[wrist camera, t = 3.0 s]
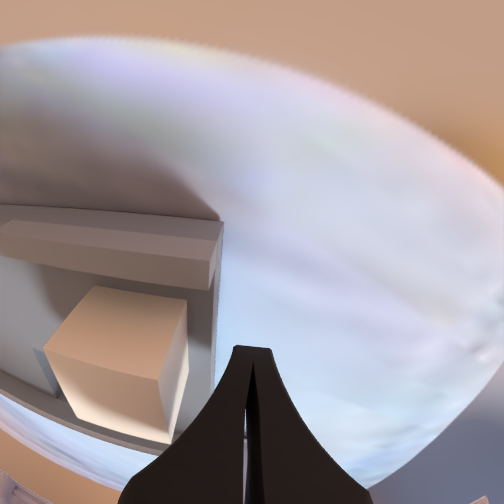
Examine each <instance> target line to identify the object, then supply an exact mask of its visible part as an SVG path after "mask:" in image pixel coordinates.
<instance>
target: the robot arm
mask: <svg viewBox="0 0 504 504" xmlns="http://www.w3.org/2000/svg"><path fill="white" fill-rule="evenodd" d="M245 409H246V431H247V439H244V426H245ZM0 504H54V503H52V502H50V501H48V500H46V499H44V498H43V497H41V496H39V495H37V494H36V493H34V492H32V491H30V490H29V489H27V488H26V487H24V486H22V485H21V484H19V483H18V482H16V480H15V479H13V478H12V477H11V476H10V475H8V474H7V473H5V472H4V471H3V470H1V469H0ZM118 504H373V502H372V499H371V496H370V494H369V491H367V490H366V489H365V488H364V487H362V486H361V485H360V484H359V483H357V482H356V481H355V480H354V479H353V478H352V477H351V476H349V475H348V474H347V473H346V472H345V471H344V470H343V469H342V468H341V467H340V466H339V465H338V464H337V463H336V462H335V461H334V460H333V458H332V457H331V456H330V455H329V454H328V453H327V452H326V451H325V449H324V448H323V447H322V446H321V445H320V444H319V442H318V441H317V440H316V438H315V437H314V436H313V434H312V433H311V431H310V430H309V429H308V427H307V426H306V424H305V423H304V421H303V420H302V418H301V416H300V415H299V413H298V411H297V409H296V408H295V406H294V404H293V402H292V400H291V398H290V396H289V394H288V392H287V390H286V388H285V386H284V384H283V382H282V379H281V377H280V374H279V372H278V369H277V367H276V364H275V361H274V357H273V354H272V350H271V349H270V348H261V347H251V346H242V345H236V346H234V347H233V352H232V355H231V358H230V361H229V363H228V365H227V368H226V370H225V372H224V374H223V376H222V378H221V380H220V381H219V383H218V385H217V387H216V389H215V390H214V392H213V393H212V395H211V397H210V398H209V400H208V401H207V403H206V404H205V406H204V407H203V409H202V410H201V411H200V413H199V414H198V415H197V417H196V418H195V419H194V420H193V422H192V423H191V424H190V425H189V426H188V427H187V429H186V430H185V431H184V432H183V433H182V434H181V435H180V436H179V437H178V439H177V440H176V441H175V442H174V443H173V444H172V445H170V446H169V447H168V448H167V449H166V450H165V451H164V452H163V453H162V454H161V455H160V456H159V457H157V458H156V459H155V460H154V461H153V462H151V463H150V464H149V465H148V466H146V467H145V468H144V469H142V470H141V471H140V472H138V473H137V474H136V475H134V476H133V477H132V478H131V479H130V480H129V482H128V483H127V485H126V486H125V488H124V490H123V491H122V493H121V495H120V498H119V500H118ZM470 504H489V502H488V499H487V496H483V497H481V498H480V499H478V500H476V501H474V502H472V503H470Z"/></svg>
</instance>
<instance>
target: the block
mask: <svg viewBox="0 0 504 504" xmlns="http://www.w3.org/2000/svg"><path fill="white" fill-rule="evenodd" d="M43 350H44V352H45V354H46V357H47V359H48V361H49V364H50V366H51V368H52V370H53V372H54V374H55V376H56V379H57V381H58V383H59V385H60V387H61V389H62V391H63V393H64V394H65V396H66V398H67V400H68V402H69V404H70V406H71V407H72V409H73V411H74V413H75V414H76V416H77V418H79V419H82V420H85V421H87V422H90V423H93V424H96V425H99V426H102V427H105V428H108V429H111V430H115V431H118V432H122V433H125V434H129V435H132V436H136V437H140V438H144V439H148V440H152V441H157V442H161V443H166V444H171V442H172V437H173V433H174V429H175V425H176V421H177V417H178V412H179V408H180V404H181V400H182V396H183V392H184V388H185V385H186V381H187V377H188V373H189V363H188V334H187V300H182V299H175V298H168V297H162V296H155V295H149V294H143V293H137V292H131V291H125V290H119V289H113V288H108V287H102V286H97V285H94V286H93V287H92V288H91V289H90V291H89V292H88V293H87V294H86V295H85V296H84V297H83V299H82V300H81V301H80V302H79V303H78V305H77V306H76V307H75V308H74V309H73V310H72V312H71V313H70V314H69V315H68V317H67V318H66V319H65V320H64V321H63V323H62V324H61V325H60V326H59V328H58V329H57V330H56V331H55V333H54V334H53V335H52V337H51V338H50V339H49V340H48V342H47V343H46V344H45V346H44V347H43Z"/></svg>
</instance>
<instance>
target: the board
mask: <svg viewBox="0 0 504 504" xmlns="http://www.w3.org/2000/svg"><path fill="white" fill-rule="evenodd" d="M223 230H224V222H221V221H211V220H202V219H192V218H182V217H171V216H161V215H150V214H138V213H127V212H114V211H102V210H88V209H74V208H59V207H43V206H25V205H5V204H0V394H2V395H4V396H5V397H7V398H9V399H11V400H12V401H14V402H16V403H18V404H20V405H22V406H23V407H25V408H27V409H29V410H31V411H33V412H35V413H37V414H39V415H41V416H43V417H45V418H48V419H50V420H52V421H54V422H56V423H59V424H61V425H63V426H66V427H68V428H71V429H73V430H76V431H78V432H81V433H83V434H86V435H89V436H92V437H94V438H97V439H100V440H103V441H106V442H109V443H112V444H116V445H119V446H122V447H126V448H129V449H133V450H136V451H140V452H144V453H148V454H152V455H157V456H160V455H161V454H162V453H163V452H164V451H165V450H166V449H167V448H168V447H169V446H170V445H172V444H173V443H174V442H175V441H176V440H177V439H178V437H179V436H180V435H181V434H182V433H183V432H184V431H185V430H186V429H187V427H188V426H189V425H190V424H191V423H192V422H193V420H194V419H195V418H196V417H197V415H198V414H199V413H200V411H201V410H202V409H203V407H204V406H205V404H206V403H207V401H208V400H209V398H210V397H211V395H212V393H213V392H214V376H215V354H216V334H217V316H218V299H219V284H220V269H221V255H222V242H223ZM94 285H97V286H102V287H108V288H113V289H119V290H125V291H131V292H137V293H143V294H149V295H155V296H162V297H168V298H175V299H182V300H187V334H188V363H189V373H188V377H187V381H186V385H185V388H184V392H183V396H182V400H181V404H180V408H179V412H178V417H177V421H176V425H175V429H174V433H173V437H172V442H171V444H166V443H161V442H157V441H152V440H148V439H144V438H140V437H136V436H132V435H129V434H125V433H122V432H118V431H115V430H111V429H108V428H105V427H102V426H99V425H96V424H93V423H90V422H87V421H85V420H82V419H79V418H77V416H76V414H75V413H74V411H73V409H72V407H71V406H70V404H69V402H68V400H67V398H66V396H65V394H64V393H63V391H62V389H61V387H60V385H59V383H58V381H57V379H56V376H55V374H54V372H53V370H52V368H51V366H50V364H49V361H48V359H47V357H46V354H45V352H44V350H43V347H44V346H45V344H46V343H47V342H48V340H49V339H50V338H51V337H52V335H53V334H54V333H55V331H56V330H57V329H58V328H59V326H60V325H61V324H62V323H63V321H64V320H65V319H66V318H67V317H68V315H69V314H70V313H71V312H72V310H73V309H74V308H75V307H76V306H77V305H78V303H79V302H80V301H81V300H82V299H83V297H84V296H85V295H86V294H87V293H88V292H89V291H90V289H91V288H92V287H93V286H94Z"/></svg>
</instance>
